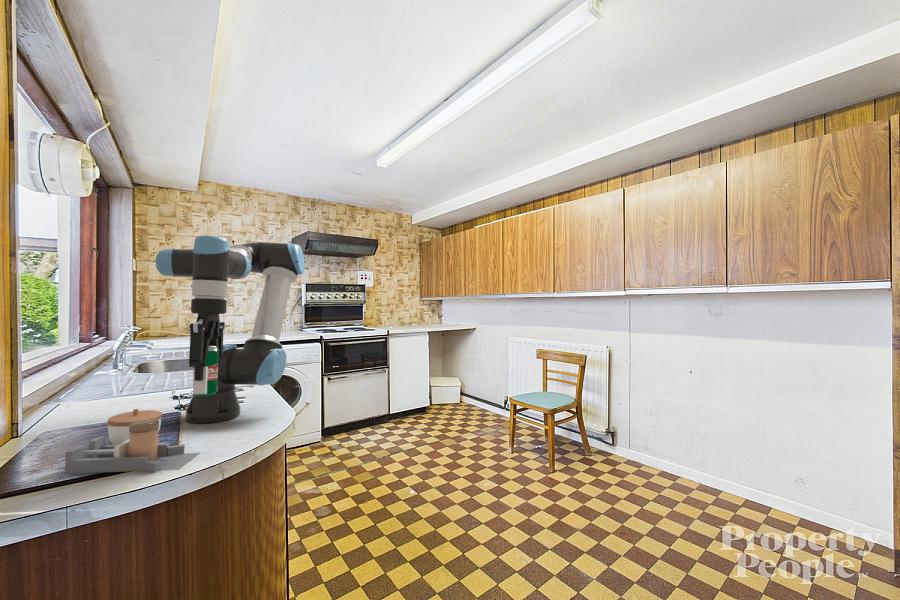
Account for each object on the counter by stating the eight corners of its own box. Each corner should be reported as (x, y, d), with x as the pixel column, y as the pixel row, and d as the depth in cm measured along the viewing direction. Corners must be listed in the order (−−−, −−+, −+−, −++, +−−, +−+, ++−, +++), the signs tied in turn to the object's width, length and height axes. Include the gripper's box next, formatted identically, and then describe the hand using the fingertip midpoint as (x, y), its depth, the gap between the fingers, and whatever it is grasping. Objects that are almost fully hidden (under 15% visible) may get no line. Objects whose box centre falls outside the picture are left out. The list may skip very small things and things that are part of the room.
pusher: (85, 457, 88) (85, 438, 88) (137, 455, 90) (138, 436, 90) (61, 468, 82) (62, 448, 82) (118, 466, 84) (119, 446, 84)
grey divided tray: (102, 455, 91) (103, 434, 91) (203, 452, 94) (203, 432, 94) (60, 477, 80) (61, 453, 80) (176, 473, 83) (177, 450, 83)
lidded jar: (157, 435, 105) (158, 401, 105) (163, 446, 98) (165, 410, 98) (105, 445, 98) (106, 408, 98) (107, 457, 90) (109, 418, 90)
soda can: (206, 397, 92) (208, 347, 92) (188, 395, 93) (190, 346, 93) (222, 392, 97) (224, 345, 97) (205, 391, 98) (207, 344, 98)
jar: (137, 457, 89) (139, 419, 90) (163, 457, 90) (164, 419, 90) (121, 467, 84) (123, 426, 84) (148, 466, 85) (150, 426, 85)
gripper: (209, 298, 104) (206, 384, 103) (173, 296, 86) (168, 399, 85) (239, 299, 105) (235, 384, 104) (209, 297, 87) (204, 399, 87)
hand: (205, 391), depth 95 cm, fingers closed on soda can, 5 cm apart
